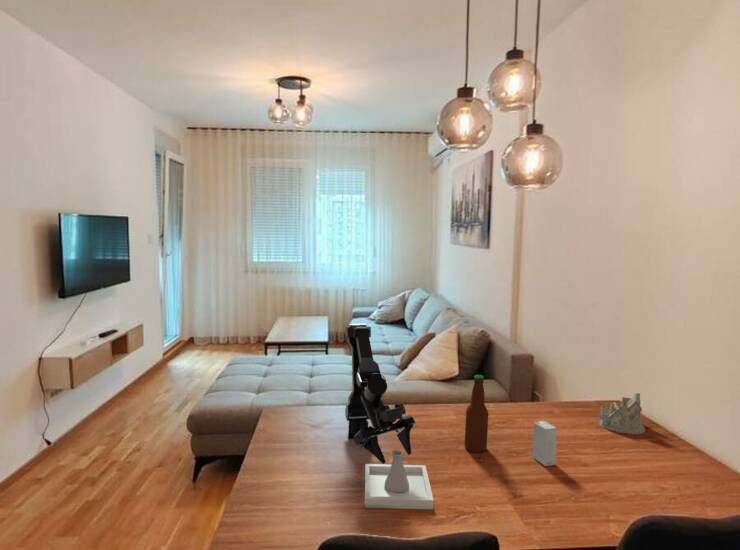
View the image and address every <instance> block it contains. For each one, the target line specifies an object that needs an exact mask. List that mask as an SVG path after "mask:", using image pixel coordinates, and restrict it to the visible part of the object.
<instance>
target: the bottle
mask: <svg viewBox="0 0 740 550" xmlns="http://www.w3.org/2000/svg"><path fill="white" fill-rule="evenodd" d="M484 379H485V377H484V376H483V375H482V374H475V375H474V376H473V387H472V391H471V397H470V404H469V405H468V406H467V408H466V410H465V425H464V427H465V429H464V447H465V448H466V450H468V451H470V452H473V453H482V452H485V451H486V449H487V447H488V446H487V445H488V444H487V443H488V429H489V410H488V409H487V406H486V404H485V401H486V400H485V397H486V396H485V387H484V383H485V382H484V381H485V380H484Z"/></svg>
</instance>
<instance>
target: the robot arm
mask: <svg viewBox="0 0 740 550" xmlns="http://www.w3.org/2000/svg"><path fill="white" fill-rule="evenodd" d="M344 329H345V333H344V334H345V338H346V339H347V340H346V341H347V343H348V345H349V347H350V348H351V373H352V374H351V377H352V378H351V379H352V380H351V385H352V390H351V392H350V393H349V396H348V398H347V403H346V406H345V409H344V410H345V411H344V413H345V414H344V416H345V419H346V422H348V432H347V433H348V434H347V438H348V439H353V441H354V443H355V446H356V447H359V446H360V448H365V450H366V451H368V452H369V453H371V455H373V456H374V457H375V458H376V459H377V460H379V462H380V464H386V458H385V456H384V454H383V451H382V449H381V447H380V443H379V439H378V436H380V435H385V434H387V433H391V432H396V433H398V434H396V436H397V438H398V441H399V442H400V443H401V445H402V448H403V449H404V450H405V452H406V454H407V455H408V456H410V455H411V454H412V446H411V430H413V428H414V425H415V424H416V423H417V422H416V421H415V418H414V417H413V416H412V415H409V414H408V415H406V416H403V415H405V414H406V412H407V411H406V407H405V406H404V404H403V402H401V403H396V404H394V407H393V408H391V407H390V406H389V405H388V404H385V402H384V400H383V398H384V396H385V394H386V393H387V390H388V384H387V379H386V378H385V375H383V373H382V371H381V369H380V366H379V364H378V363H377V362H376V360H374V356H373V350H372V346H371V339H370V338H372V326H367V323H348V325H347V326H345V328H344ZM369 421H370V423H371V426H369Z"/></svg>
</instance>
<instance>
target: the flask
mask: <svg viewBox="0 0 740 550" xmlns="http://www.w3.org/2000/svg"><path fill="white" fill-rule="evenodd" d="M391 455H392V457H393V458H392V463H391V464H390V465H391V468H390V471H389V473H388V476H387V478H386V480H385V487H384V488H385V489H387V490H389V491H391V492H401V493H403V492H405V491H406V490H407V489H409V482H408V479H407V476H406V473H405V470H404V466H403V465H404V464H403V456H404V451H403V450H400V449H393V451H392V454H391Z"/></svg>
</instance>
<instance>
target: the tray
mask: <svg viewBox="0 0 740 550" xmlns="http://www.w3.org/2000/svg"><path fill="white" fill-rule="evenodd" d="M391 465H392V464H389V463H388V464H387V463H384V464H382V463H379V464H378V463H365V464H364V466H365V469H364V470H365V474H364V509H365V508H366V509H396V510H397V509H400V510H401V509H402V510H403V509H404V510H405V509H406V510H408V509H409V510H434V496H433V493H432V492H433V491H432V488H431V483H430V480H429V475H428V471H427V466H426V465H424V464H423V465H422V464H403V466H404V470H405V473H406V476H407V479H408V482H409V489H407V490H406V491H405V492H403V493H401V492H391V491H389V490H387V489H385V488H384V487H385V480H386V478H387V476H388V473H389V471H390V468H391Z"/></svg>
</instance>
